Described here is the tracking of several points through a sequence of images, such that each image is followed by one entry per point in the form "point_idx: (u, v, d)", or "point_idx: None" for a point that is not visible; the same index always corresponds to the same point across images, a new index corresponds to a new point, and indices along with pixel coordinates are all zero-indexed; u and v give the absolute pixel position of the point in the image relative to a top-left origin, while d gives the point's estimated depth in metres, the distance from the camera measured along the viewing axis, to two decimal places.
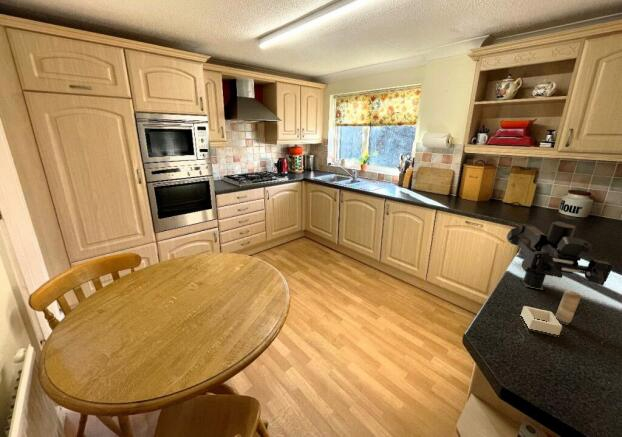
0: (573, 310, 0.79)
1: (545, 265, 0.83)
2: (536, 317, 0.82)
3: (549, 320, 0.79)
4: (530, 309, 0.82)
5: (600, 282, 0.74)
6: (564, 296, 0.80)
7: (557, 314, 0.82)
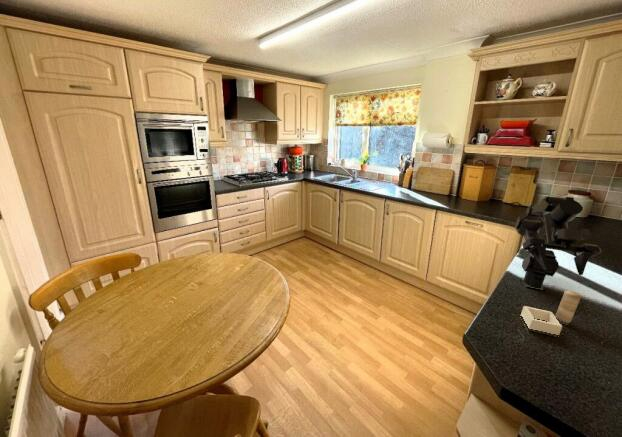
0: (573, 310, 0.79)
1: (537, 250, 0.90)
2: (536, 317, 0.82)
3: (549, 320, 0.79)
4: (530, 309, 0.82)
5: (579, 272, 0.84)
6: (564, 296, 0.80)
7: (557, 314, 0.82)
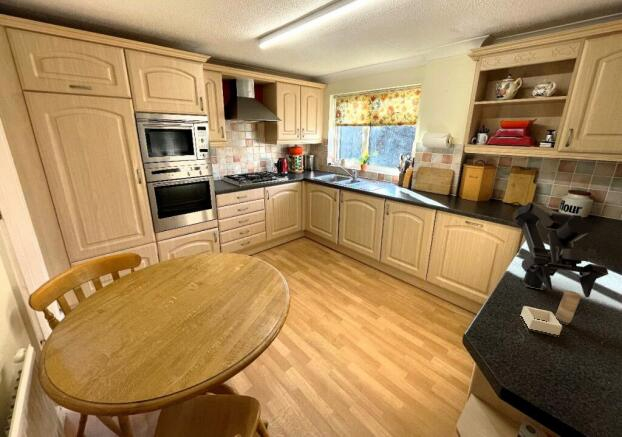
0: (573, 310, 0.79)
1: (541, 270, 0.86)
2: (536, 317, 0.82)
3: (549, 320, 0.79)
4: (530, 309, 0.82)
5: (586, 294, 0.80)
6: (564, 296, 0.80)
7: (557, 314, 0.82)
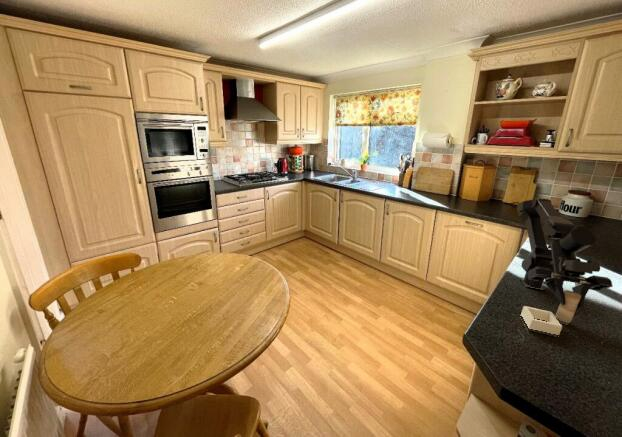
0: (573, 310, 0.79)
1: (554, 283, 0.83)
2: (536, 317, 0.82)
3: (549, 320, 0.79)
4: (530, 309, 0.82)
5: (578, 305, 0.79)
6: None
7: (557, 314, 0.82)
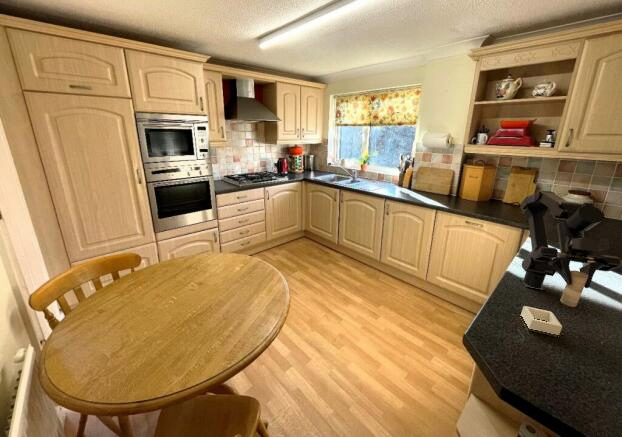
0: (580, 290, 0.76)
1: (560, 263, 0.80)
2: (536, 317, 0.82)
3: (549, 320, 0.79)
4: (530, 309, 0.82)
5: (585, 285, 0.76)
6: None
7: (563, 295, 0.79)
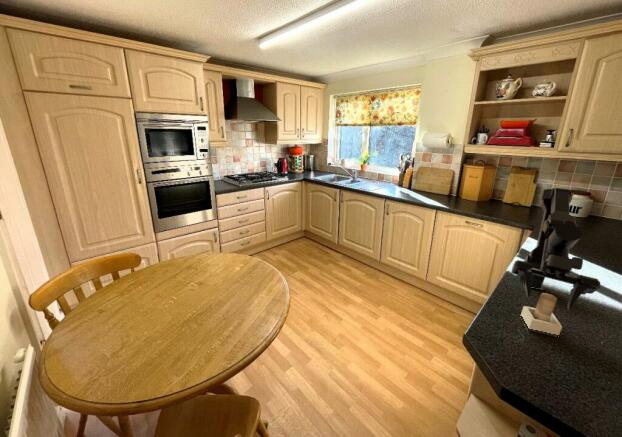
0: (547, 313, 0.76)
1: None
2: None
3: (549, 320, 0.79)
4: (530, 309, 0.82)
5: (568, 306, 0.74)
6: (539, 298, 0.78)
7: (533, 316, 0.80)
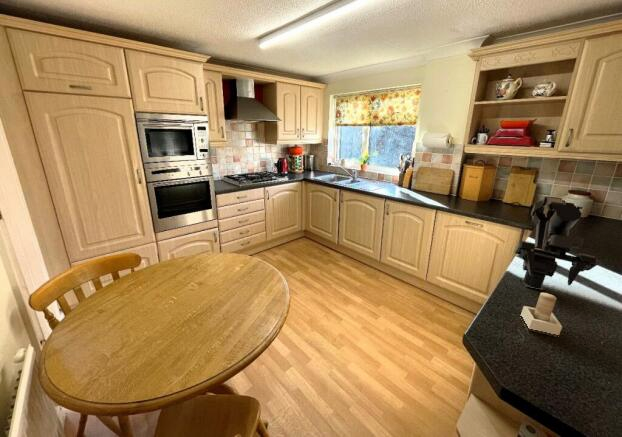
0: (547, 313, 0.76)
1: None
2: None
3: (549, 320, 0.79)
4: (530, 309, 0.82)
5: (568, 282, 0.80)
6: (539, 297, 0.78)
7: (533, 316, 0.80)
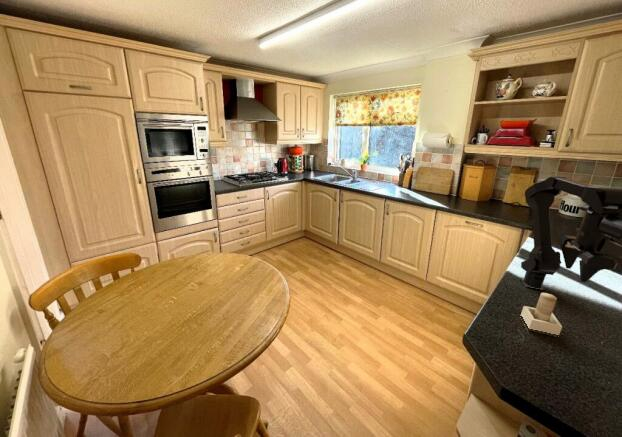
0: (547, 313, 0.76)
1: None
2: None
3: (549, 320, 0.79)
4: (530, 309, 0.82)
5: (569, 266, 0.88)
6: (539, 298, 0.78)
7: (533, 316, 0.80)
